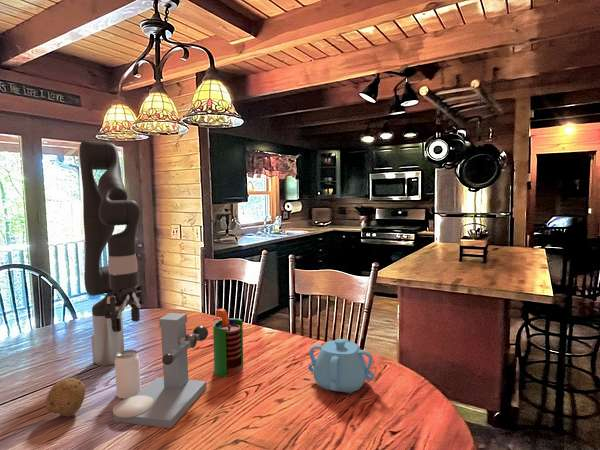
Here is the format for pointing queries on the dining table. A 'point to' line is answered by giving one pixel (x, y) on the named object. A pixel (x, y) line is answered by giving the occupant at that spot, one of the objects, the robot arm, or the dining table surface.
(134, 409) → the press
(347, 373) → the decorative pot
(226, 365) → the motor
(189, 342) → the lever
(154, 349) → the dining table surface
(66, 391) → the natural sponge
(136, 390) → the can
